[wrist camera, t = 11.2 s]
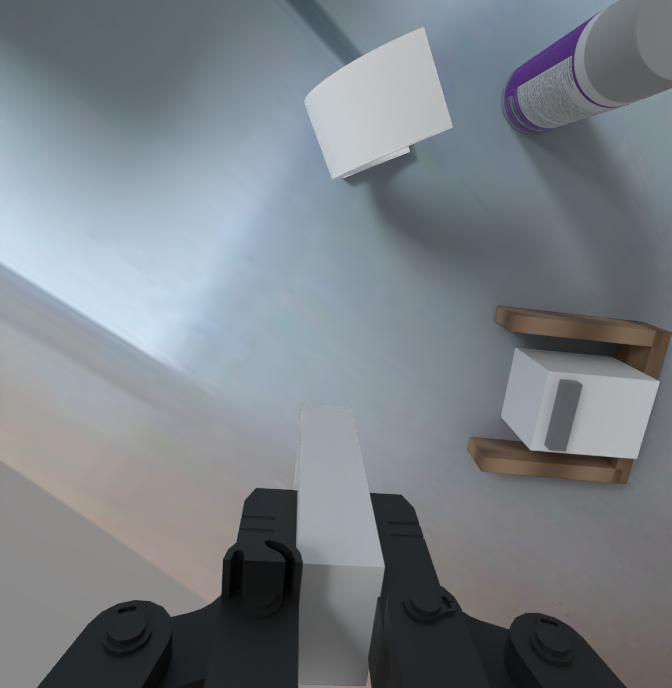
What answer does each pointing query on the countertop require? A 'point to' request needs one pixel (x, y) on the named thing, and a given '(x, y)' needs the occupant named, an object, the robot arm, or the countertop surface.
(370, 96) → the headphone stand
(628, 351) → the bay
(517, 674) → the robot arm
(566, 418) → the matte white cube
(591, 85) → the container
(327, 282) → the countertop surface
